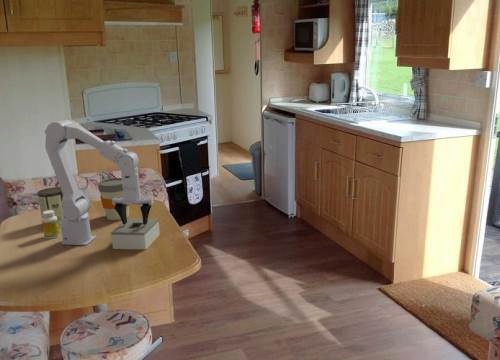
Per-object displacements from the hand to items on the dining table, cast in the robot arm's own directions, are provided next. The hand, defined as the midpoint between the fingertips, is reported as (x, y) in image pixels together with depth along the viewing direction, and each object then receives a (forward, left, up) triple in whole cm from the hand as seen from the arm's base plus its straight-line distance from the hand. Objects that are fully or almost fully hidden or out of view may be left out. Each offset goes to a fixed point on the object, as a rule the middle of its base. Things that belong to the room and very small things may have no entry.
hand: (135, 223), depth 171 cm
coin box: (0, 0, -7) cm, 7 cm away
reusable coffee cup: (-19, +26, -7) cm, 33 cm away
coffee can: (-41, +16, -7) cm, 45 cm away
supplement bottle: (-35, +3, -7) cm, 36 cm away
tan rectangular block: (0, 0, -7) cm, 7 cm away
